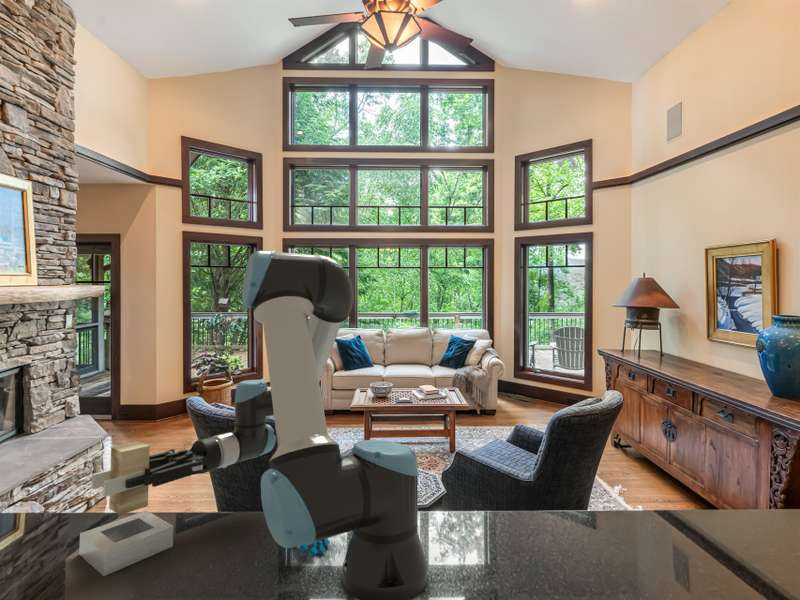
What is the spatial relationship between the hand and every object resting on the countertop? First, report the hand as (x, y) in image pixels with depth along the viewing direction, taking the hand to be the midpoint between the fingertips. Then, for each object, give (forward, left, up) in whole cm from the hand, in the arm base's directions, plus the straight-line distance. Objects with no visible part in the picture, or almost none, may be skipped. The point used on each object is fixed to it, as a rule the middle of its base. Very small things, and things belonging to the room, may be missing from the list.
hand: (98, 485), depth 78 cm
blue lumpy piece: (-29, -27, -15) cm, 42 cm away
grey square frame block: (0, -5, -14) cm, 15 cm away
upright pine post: (0, -5, -6) cm, 8 cm away
